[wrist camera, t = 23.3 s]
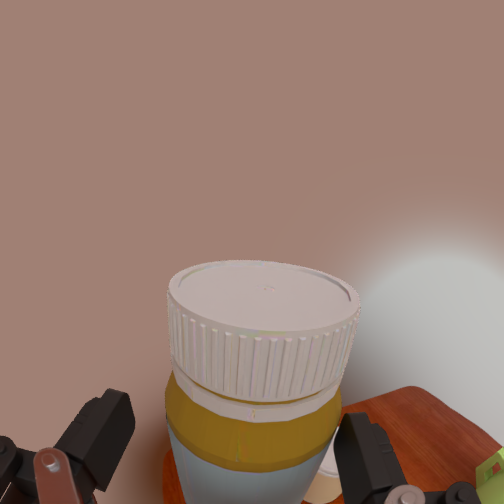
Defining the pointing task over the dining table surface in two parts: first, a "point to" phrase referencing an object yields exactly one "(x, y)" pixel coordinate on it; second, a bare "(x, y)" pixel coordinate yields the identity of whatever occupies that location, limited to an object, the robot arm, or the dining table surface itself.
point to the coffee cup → (325, 480)
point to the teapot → (491, 480)
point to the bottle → (255, 377)
